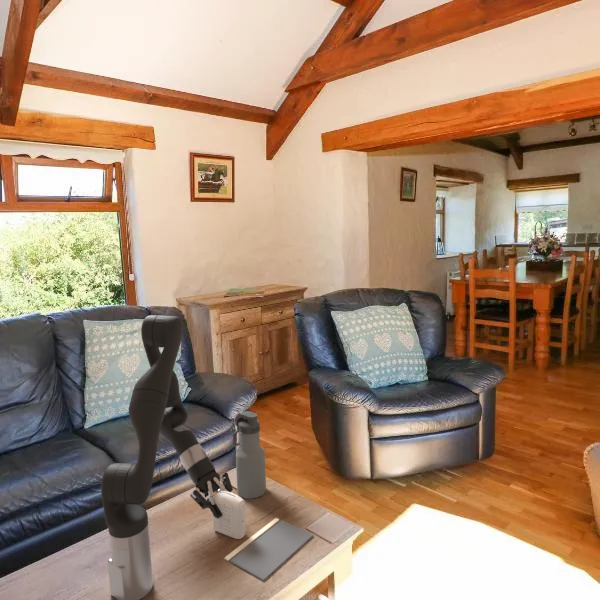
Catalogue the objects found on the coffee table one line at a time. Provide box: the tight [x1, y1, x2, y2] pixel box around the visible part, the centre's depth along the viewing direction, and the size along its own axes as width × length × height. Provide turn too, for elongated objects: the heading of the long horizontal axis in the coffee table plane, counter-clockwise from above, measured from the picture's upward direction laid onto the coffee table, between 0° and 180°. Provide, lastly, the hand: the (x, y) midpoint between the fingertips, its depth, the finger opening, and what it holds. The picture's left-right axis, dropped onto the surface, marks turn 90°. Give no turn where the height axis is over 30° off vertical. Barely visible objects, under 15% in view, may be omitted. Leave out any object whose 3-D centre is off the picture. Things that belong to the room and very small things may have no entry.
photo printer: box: [212, 491, 247, 540], centre depth 141 cm, size 10×4×12 cm, turn 60°
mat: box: [224, 517, 314, 582], centre depth 135 cm, size 22×14×1 cm, turn 143°
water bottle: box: [232, 410, 267, 500], centre depth 161 cm, size 10×10×28 cm
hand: (226, 512), depth 142 cm, fingers closed on photo printer, 4 cm apart
